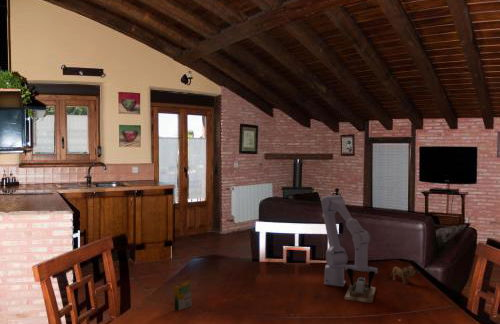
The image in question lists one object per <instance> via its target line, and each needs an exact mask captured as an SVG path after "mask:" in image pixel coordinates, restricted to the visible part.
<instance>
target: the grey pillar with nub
mask: <svg viewBox="0 0 500 324" xmlns="http://www.w3.org/2000/svg"><path fill="white" fill-rule="evenodd" d="M356 282H357V283H356V292H357V293H364V290H365V283H366V277H364V276H358V278H357V281H356Z"/></svg>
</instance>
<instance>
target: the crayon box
mask: <svg viewBox="0 0 500 324" xmlns="http://www.w3.org/2000/svg"><path fill="white" fill-rule="evenodd" d="M173 289H174V290H173V291H174V293H173V295H174V310H175V311H179V312H180V311H182V310H184V309H186V308H189V307H192V279H189V280H186V281H183V282H180V283H178V285H176V286H173Z"/></svg>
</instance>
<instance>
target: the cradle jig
mask: <svg viewBox="0 0 500 324" xmlns="http://www.w3.org/2000/svg"><path fill="white" fill-rule="evenodd" d="M356 283H357V281H353V286H351V283H350V284H349V286H348V288H347V290H346V293H345V295H344V300H345V301H346V300H348V301H354V302H361V303H362V302H363V303H367V304H368V303H370V304H373V301H374V298H375V294H376V290H377V289H376V286H372V284H371V285H370V288H368V284H369V283H366V282H365V290H364V293H357V292H356Z"/></svg>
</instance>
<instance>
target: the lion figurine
mask: <svg viewBox="0 0 500 324" xmlns="http://www.w3.org/2000/svg"><path fill="white" fill-rule="evenodd" d="M415 273H416V270H415V269H414V267H413V266H410V265H409V266H406V267H403V268H400V267H398V266H394V267H393V268H392V271H391V273H390V275H388V276H387V277H388V278H391V277H392V280H393V281H395V282H396V281H397V280H396V275H398V276H399V277H402V284H403V285H406V284H408V283H409V281H408V279H410V278H411V277H413V276H414V275H415Z"/></svg>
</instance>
